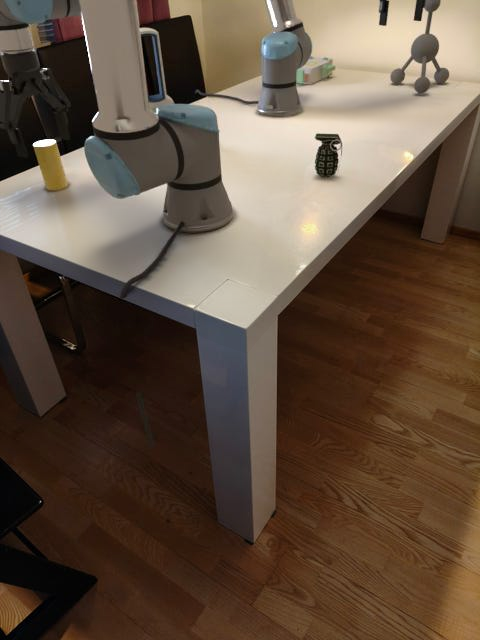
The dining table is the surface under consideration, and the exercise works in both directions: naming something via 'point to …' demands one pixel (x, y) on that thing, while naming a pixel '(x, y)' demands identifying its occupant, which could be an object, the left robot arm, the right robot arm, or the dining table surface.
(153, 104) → the electronic device
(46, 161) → the canister
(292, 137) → the dining table surface
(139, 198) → the dining table surface
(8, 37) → the left robot arm
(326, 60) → the decorative block
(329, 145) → the grenade
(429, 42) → the molecular model
